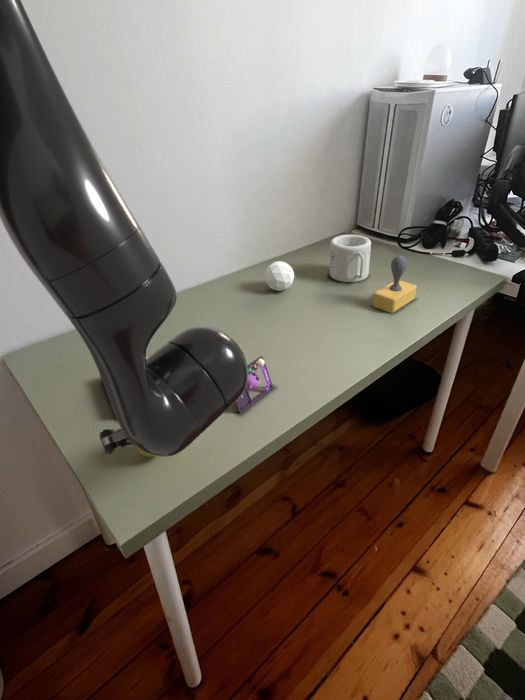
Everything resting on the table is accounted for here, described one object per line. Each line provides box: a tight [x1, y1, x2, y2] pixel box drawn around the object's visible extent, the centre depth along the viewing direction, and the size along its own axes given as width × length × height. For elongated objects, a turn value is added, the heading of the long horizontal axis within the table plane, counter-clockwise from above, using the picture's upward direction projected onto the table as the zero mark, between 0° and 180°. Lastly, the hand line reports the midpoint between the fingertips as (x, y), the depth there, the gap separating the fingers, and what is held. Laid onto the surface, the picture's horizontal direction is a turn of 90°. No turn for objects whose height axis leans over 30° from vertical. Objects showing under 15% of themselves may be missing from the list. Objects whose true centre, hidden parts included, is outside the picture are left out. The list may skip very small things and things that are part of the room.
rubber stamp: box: [372, 255, 418, 314], centre depth 103 cm, size 10×6×12 cm, turn 133°
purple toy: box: [234, 355, 274, 414], centre depth 79 cm, size 7×5×9 cm
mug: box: [329, 234, 372, 283], centre depth 118 cm, size 14×11×10 cm
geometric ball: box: [264, 260, 295, 292], centre depth 114 cm, size 8×8×8 cm
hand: (152, 428), depth 63 cm, fingers open, 8 cm apart
